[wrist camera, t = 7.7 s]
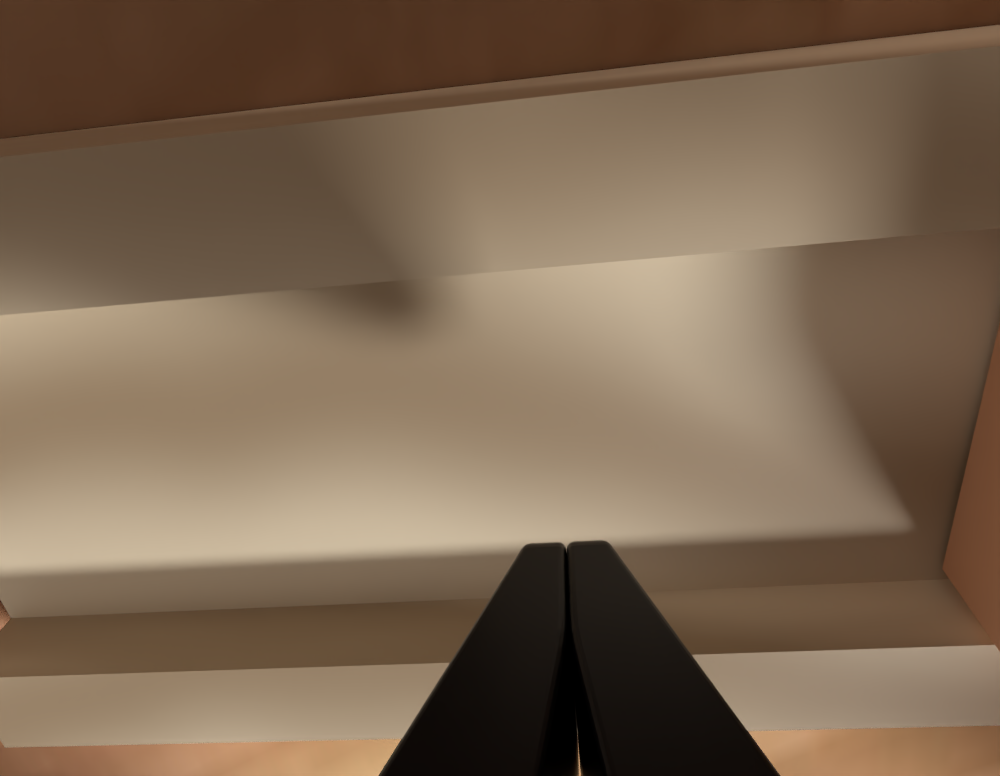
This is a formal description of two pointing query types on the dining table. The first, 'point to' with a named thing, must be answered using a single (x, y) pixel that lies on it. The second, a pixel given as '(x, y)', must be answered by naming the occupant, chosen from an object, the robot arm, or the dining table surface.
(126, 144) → the chute
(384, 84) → the dining table surface
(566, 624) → the robot arm
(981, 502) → the block
